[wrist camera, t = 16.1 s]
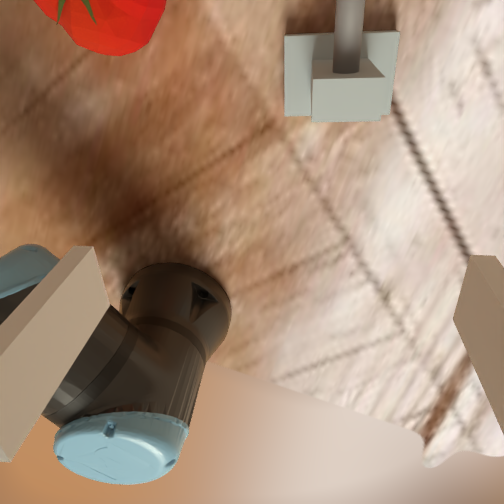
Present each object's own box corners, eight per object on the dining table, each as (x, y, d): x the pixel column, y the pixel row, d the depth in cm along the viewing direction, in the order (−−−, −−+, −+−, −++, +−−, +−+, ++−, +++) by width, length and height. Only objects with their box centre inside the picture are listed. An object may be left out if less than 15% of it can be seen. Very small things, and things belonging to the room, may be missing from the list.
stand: (386, 109, 41) (411, 147, 31) (285, 111, 43) (278, 148, 32) (410, -91, 33) (455, -127, 23) (285, -82, 34) (275, -112, 24)
